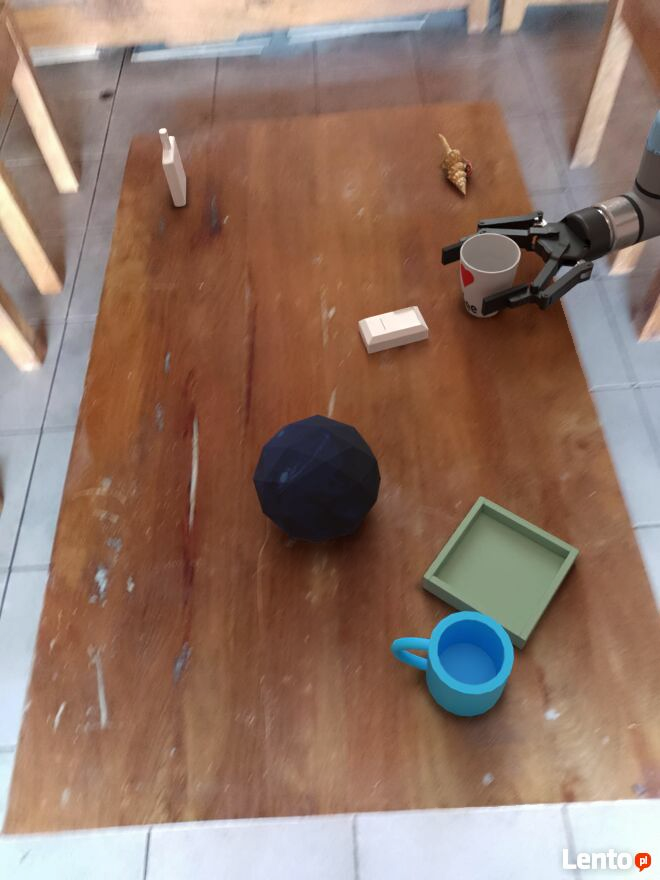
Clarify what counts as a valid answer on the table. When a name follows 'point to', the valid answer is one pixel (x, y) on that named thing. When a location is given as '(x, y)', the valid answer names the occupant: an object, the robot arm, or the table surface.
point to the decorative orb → (317, 479)
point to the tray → (501, 569)
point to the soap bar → (393, 329)
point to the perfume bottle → (173, 168)
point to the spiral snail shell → (456, 166)
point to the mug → (462, 661)
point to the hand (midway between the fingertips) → (462, 281)
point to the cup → (486, 268)
